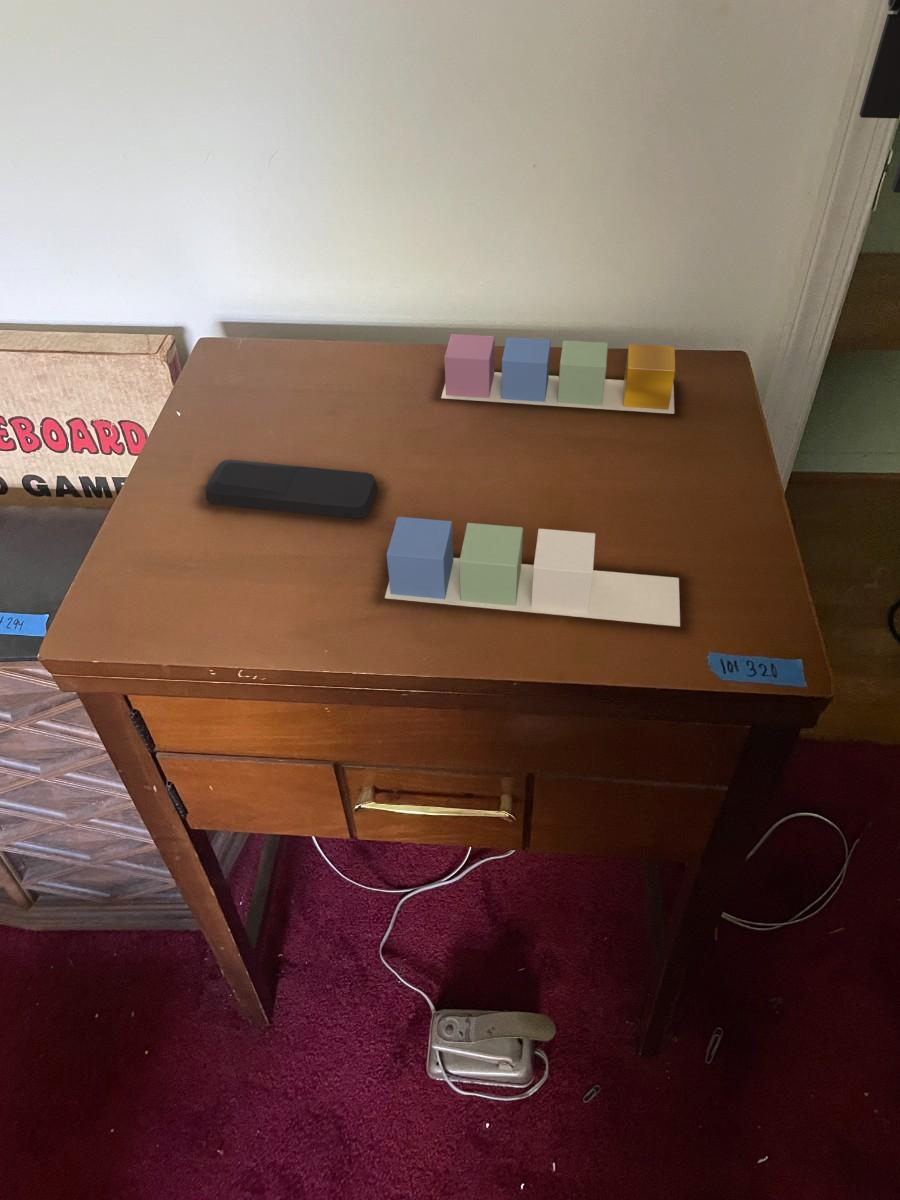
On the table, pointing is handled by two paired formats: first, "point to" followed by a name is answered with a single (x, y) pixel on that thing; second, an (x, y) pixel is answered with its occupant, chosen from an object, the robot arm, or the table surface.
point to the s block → (649, 376)
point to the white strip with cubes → (521, 574)
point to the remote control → (292, 489)
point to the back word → (533, 374)
